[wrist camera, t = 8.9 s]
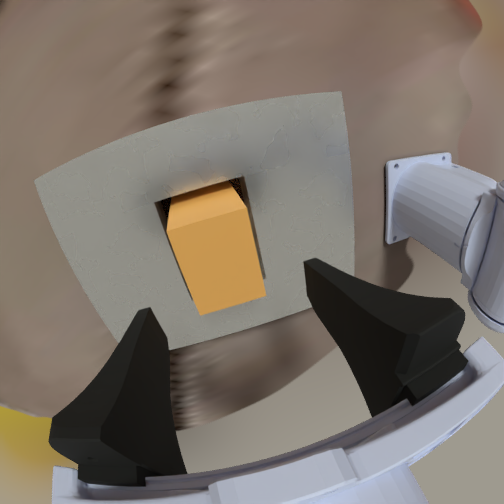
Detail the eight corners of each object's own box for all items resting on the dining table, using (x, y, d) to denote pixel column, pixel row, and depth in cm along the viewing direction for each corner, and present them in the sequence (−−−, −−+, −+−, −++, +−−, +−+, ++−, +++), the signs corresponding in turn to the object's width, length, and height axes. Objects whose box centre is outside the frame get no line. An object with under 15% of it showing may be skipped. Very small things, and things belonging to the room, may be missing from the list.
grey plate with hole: (323, 93, 16) (341, 91, 14) (340, 276, 24) (353, 291, 22) (49, 172, 14) (33, 180, 12) (132, 338, 22) (130, 359, 20)
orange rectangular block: (228, 180, 18) (246, 207, 13) (244, 249, 21) (266, 295, 16) (171, 196, 18) (166, 231, 13) (194, 264, 20) (200, 315, 15)
